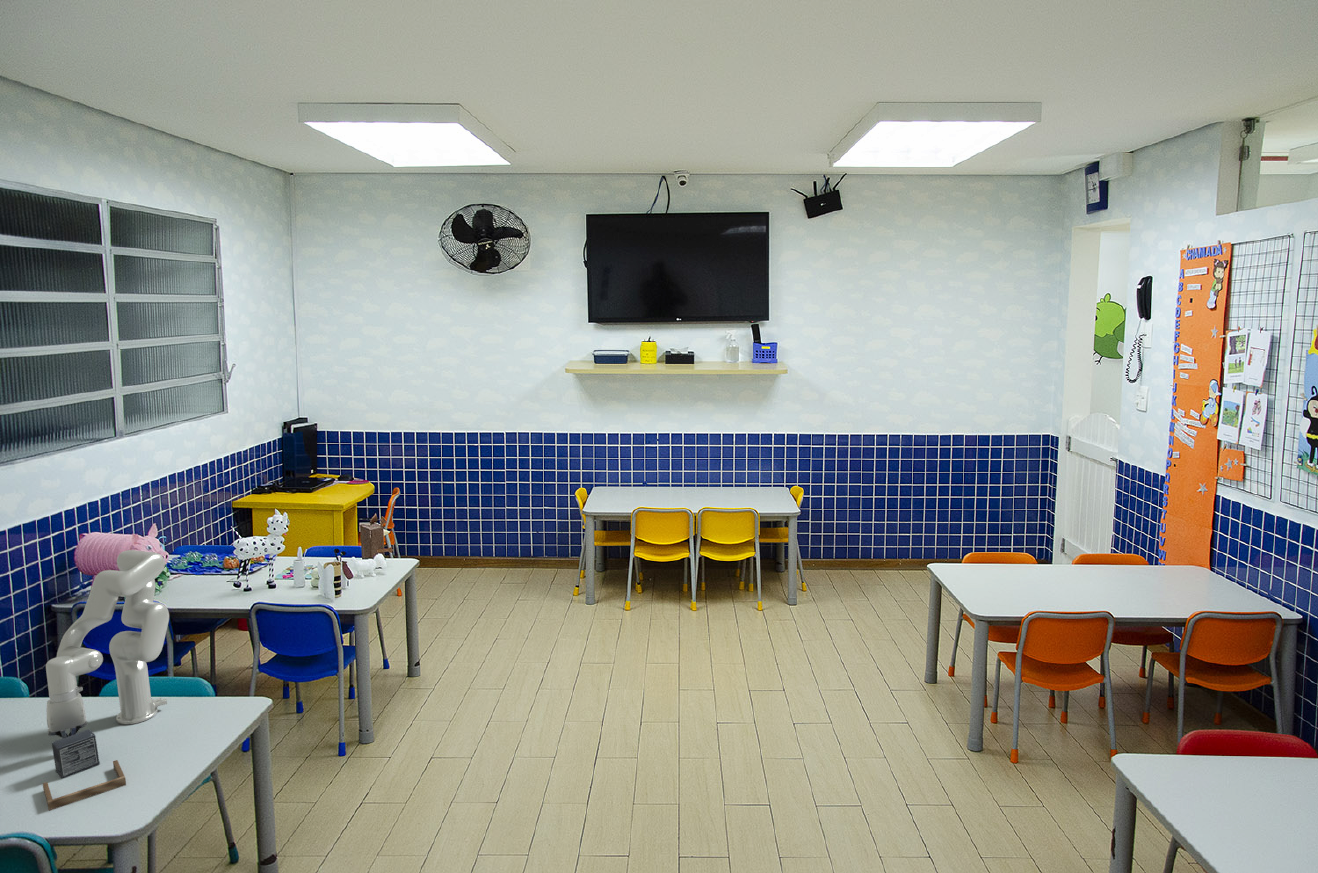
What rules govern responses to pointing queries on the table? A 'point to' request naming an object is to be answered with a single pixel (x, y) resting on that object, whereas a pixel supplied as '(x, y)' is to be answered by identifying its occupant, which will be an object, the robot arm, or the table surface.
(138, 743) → the table surface
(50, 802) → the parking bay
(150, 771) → the table surface
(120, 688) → the robot arm
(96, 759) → the small box
